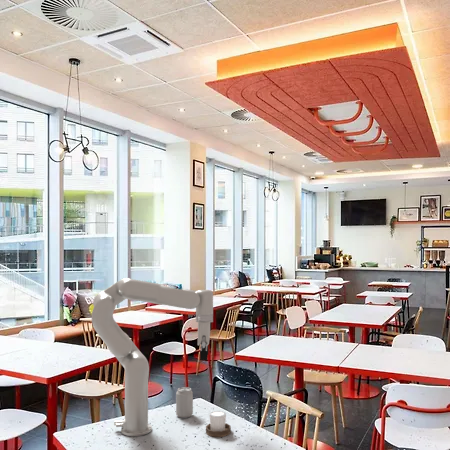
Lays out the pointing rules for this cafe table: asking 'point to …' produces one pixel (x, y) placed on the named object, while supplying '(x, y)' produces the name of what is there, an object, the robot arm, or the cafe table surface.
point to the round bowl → (218, 433)
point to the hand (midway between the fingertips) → (204, 357)
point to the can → (184, 402)
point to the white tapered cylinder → (217, 420)
